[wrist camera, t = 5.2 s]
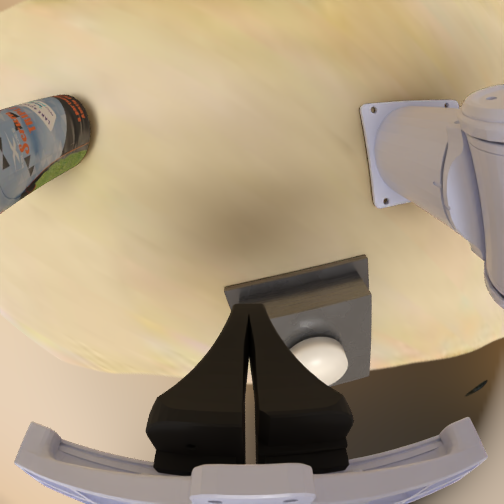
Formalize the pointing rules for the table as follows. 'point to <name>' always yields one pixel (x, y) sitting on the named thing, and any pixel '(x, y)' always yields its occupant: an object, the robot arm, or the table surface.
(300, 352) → the plunger
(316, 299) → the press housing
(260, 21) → the table surface
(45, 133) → the beverage can
